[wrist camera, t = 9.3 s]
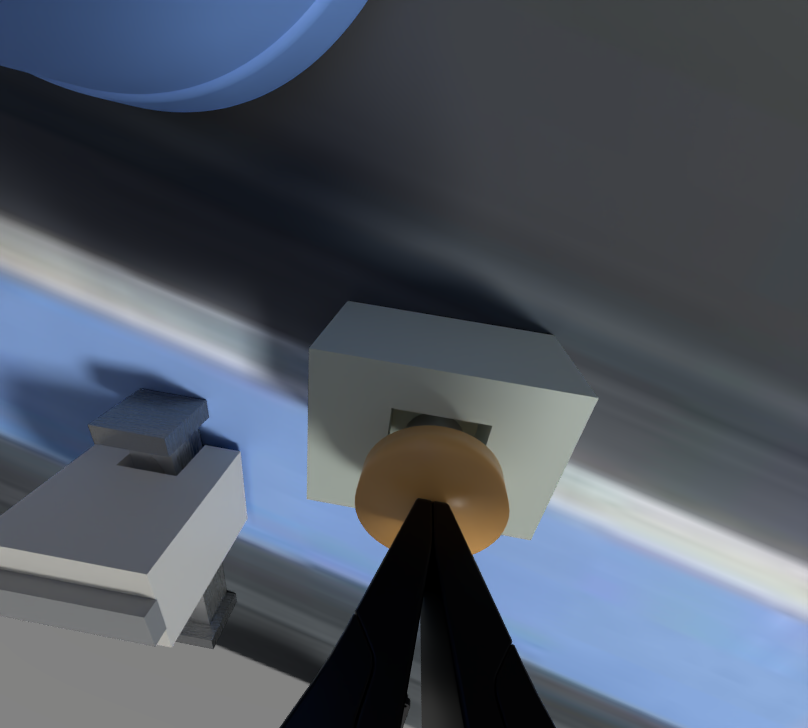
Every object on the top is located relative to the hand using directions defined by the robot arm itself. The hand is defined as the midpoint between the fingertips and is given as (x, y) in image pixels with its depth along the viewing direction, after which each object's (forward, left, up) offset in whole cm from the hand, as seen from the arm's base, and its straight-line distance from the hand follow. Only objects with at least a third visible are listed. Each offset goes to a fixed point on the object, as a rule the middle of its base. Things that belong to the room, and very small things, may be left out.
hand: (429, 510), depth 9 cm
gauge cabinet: (0, 0, -6) cm, 7 cm away
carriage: (-8, +12, -6) cm, 16 cm away
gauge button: (0, 0, -3) cm, 3 cm away
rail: (-11, +12, -6) cm, 18 cm away
